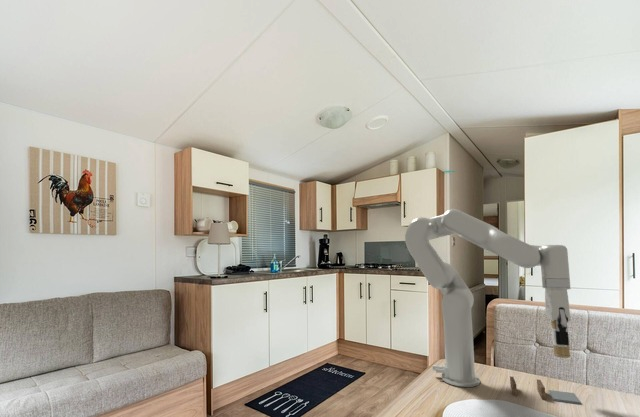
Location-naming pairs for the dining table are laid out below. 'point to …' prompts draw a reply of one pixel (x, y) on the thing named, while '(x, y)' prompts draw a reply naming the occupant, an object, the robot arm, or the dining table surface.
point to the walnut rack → (539, 388)
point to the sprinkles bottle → (559, 349)
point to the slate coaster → (564, 397)
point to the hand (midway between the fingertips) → (560, 341)
